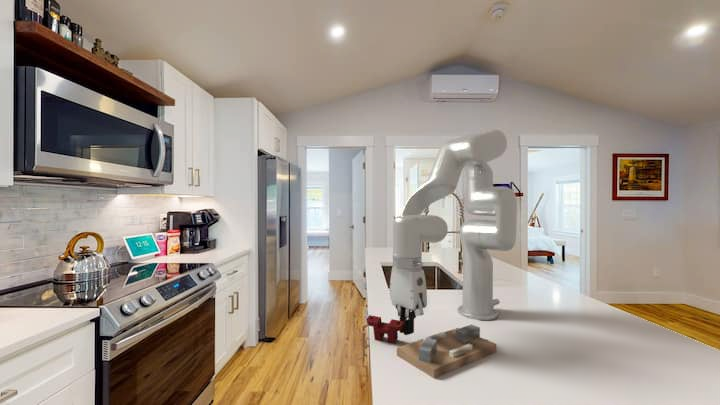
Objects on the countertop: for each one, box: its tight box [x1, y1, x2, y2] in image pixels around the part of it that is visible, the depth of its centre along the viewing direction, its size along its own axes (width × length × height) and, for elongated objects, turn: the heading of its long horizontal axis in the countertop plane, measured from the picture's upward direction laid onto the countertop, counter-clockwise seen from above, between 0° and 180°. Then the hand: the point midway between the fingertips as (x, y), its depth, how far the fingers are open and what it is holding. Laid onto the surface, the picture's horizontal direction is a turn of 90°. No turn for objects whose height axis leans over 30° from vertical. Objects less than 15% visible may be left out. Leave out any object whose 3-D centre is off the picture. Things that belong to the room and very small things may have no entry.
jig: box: [396, 324, 497, 379], centre depth 77 cm, size 22×12×4 cm, turn 123°
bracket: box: [366, 315, 404, 345], centre depth 84 cm, size 3×6×10 cm
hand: (406, 332), depth 83 cm, fingers closed on bracket
